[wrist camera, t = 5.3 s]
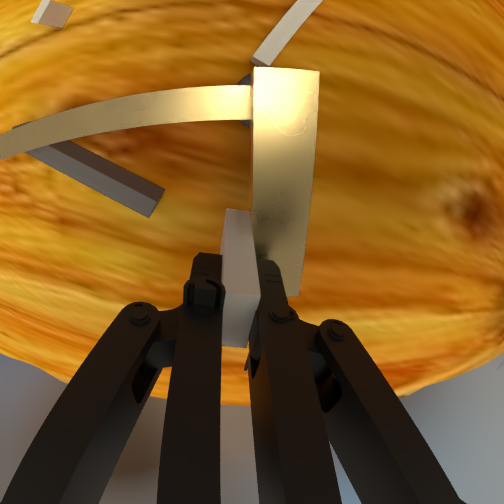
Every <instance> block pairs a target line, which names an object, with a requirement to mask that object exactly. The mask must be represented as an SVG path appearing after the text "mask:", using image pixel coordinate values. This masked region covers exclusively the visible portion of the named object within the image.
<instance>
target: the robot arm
mask: <svg viewBox="0 0 504 504" xmlns="http://www.w3.org/2000/svg"><path fill="white" fill-rule="evenodd" d="M248 341H249V354H248V357H247V360H246V364H245V368H244V370H246V371H247V369H248V375H249V388H250V400H251V413H252V425H253V437H254V449H255V461H256V472H257V482H258V493H259V504H342V502H341V496H340V492H339V487H338V482H337V477H336V472H335V468H334V463H333V458H332V453H331V449H330V445H329V441H330V443H331V445H332V447H333V449H334V451H335V453H336V455H337V457H338V459H339V461H340V463H341V464H342V467H343V468H344V470H345V472H346V474H347V476H348V478H349V480H350V482H351V484H352V486H353V488H354V489H355V492H356V493H357V495H358V497H359V499H360V501H361V503H362V504H466V503H465V502H464V501H462V500H461V499H459V497H458V495H457V493H456V492H455V490H454V488H453V487H452V485H451V483H450V481H449V479H448V478H447V476H446V475H445V472H444V471H443V469H442V468H441V466H440V464H439V463H438V461H437V459H436V457H435V456H434V454H433V452H432V451H431V449H430V447H429V446H428V444H427V443H426V441H425V439H424V438H423V436H422V435H421V433H420V431H419V430H418V428H417V427H416V425H415V424H414V422H413V420H412V419H411V417H410V416H409V414H408V413H407V411H406V409H405V408H404V406H403V405H402V403H401V402H400V400H399V399H398V397H397V395H396V394H395V392H394V391H393V389H392V388H391V386H390V385H389V383H388V382H387V380H386V379H385V377H384V376H383V374H382V373H381V371H380V370H379V368H378V367H377V365H376V364H375V363H374V361H373V360H372V358H371V357H370V355H369V354H368V352H367V351H366V349H365V348H364V347H363V345H362V344H361V342H360V341H359V339H358V338H357V336H356V335H355V334H354V332H353V331H352V329H351V328H350V327H349V326H348V325H347V324H345V323H343V322H342V321H339V320H335V319H328V320H325V321H323V322H322V323H321V325H320V326H316V325H313V324H310V323H307V322H304V321H302V320H300V319H299V317H298V315H297V313H296V311H295V310H294V309H292V308H291V307H290V306H289V305H288V301H287V297H286V292H285V288H284V284H283V280H282V277H281V271H280V268H279V266H278V265H277V264H276V263H275V262H274V260H266V259H257V258H256V255H255V248H254V240H253V236H252V228H251V217H250V211H245V210H238V209H231V208H226V214H225V221H224V227H223V234H222V240H221V247H220V255H218V254H210V253H202V252H200V253H199V254H198V255H197V256H196V257H195V258H194V259H193V264H192V269H191V275H190V280H188V281H187V282H186V283H185V285H184V292H183V304H182V305H180V306H179V307H177V308H175V309H172V310H166V311H158V310H157V308H156V307H155V306H153V305H151V304H149V303H146V302H134V303H131V304H129V305H127V306H126V307H124V308H123V309H122V310H121V312H120V313H119V314H118V315H117V317H116V318H115V319H114V321H113V322H112V323H111V325H110V326H109V327H108V329H107V330H106V331H105V333H104V334H103V335H102V337H101V338H100V339H99V341H98V342H97V344H96V345H95V346H94V348H93V349H92V351H91V352H90V353H89V355H88V356H87V358H86V359H85V360H84V362H83V363H82V365H81V366H80V368H79V369H78V370H77V372H76V373H75V375H74V376H73V378H72V379H71V381H70V382H69V384H68V385H67V387H66V388H65V390H64V391H63V393H62V394H61V396H60V397H59V399H58V400H57V402H56V404H55V405H54V407H53V408H52V410H51V411H50V413H49V415H48V416H47V418H46V419H45V421H44V423H43V425H42V426H41V428H40V430H39V431H38V433H37V435H36V436H35V438H34V440H33V441H32V443H31V445H30V447H29V448H28V450H27V452H26V454H25V456H24V457H23V459H22V461H21V463H20V465H19V467H18V469H17V471H16V473H15V475H14V477H13V478H12V480H11V483H10V485H9V487H8V489H7V491H6V493H5V495H4V497H3V500H2V502H1V503H0V504H99V501H100V499H101V497H102V494H103V492H104V490H105V488H106V486H107V483H108V481H109V479H110V477H111V475H112V472H113V470H114V468H115V466H116V464H117V461H118V460H119V457H120V455H121V453H122V451H123V449H124V447H125V445H126V442H127V440H128V438H129V436H130V434H131V432H132V430H133V428H134V426H135V424H136V422H137V419H138V417H139V415H140V413H141V411H142V409H143V407H144V405H145V403H146V401H147V399H148V397H149V395H150V393H151V391H152V389H153V387H154V385H155V383H156V381H157V379H158V377H159V375H160V373H161V371H162V369H163V368H164V367H171V366H172V370H171V377H170V383H169V390H168V397H167V404H166V413H165V420H164V428H163V437H162V446H161V456H160V466H159V478H158V492H157V504H221V498H220V497H221V496H220V398H221V354H222V346H229V347H242V348H247V344H248ZM328 439H329V440H328Z"/></svg>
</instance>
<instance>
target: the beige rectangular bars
mask: <svg viewBox="0 0 504 504" xmlns="http://www.w3.org/2000/svg"><path fill="white" fill-rule="evenodd" d="M322 1H323V0H297V1H296V3H295V4H294V5H293V6H292V7H291V8H290V9H289V11H288V12H287V13H286V14H285V15H284V17H283V18H282V19H281V20H280V21H279V23H278V24H277V25H276V26H275V27H274V29H273V30H272V31H271V32H270V34H269V35H268V36H267V38H266V39H265V40H264V41H263V43H262V44H261V45H260V47H259V48H258V49H257V51H256V52H255V53H254V55H253V56H252V59H251V62H252V63H254V64H256V65H257V66H259V67H269V66H270V65H271V63H272V62H273V61H274V59H275V58H276V57H277V55H278V54H279V53H280V51H281V50H282V49H283V47H284V46H285V45H286V44H287V42H288V41H289V40H290V39H291V37H292V36H293V35H294V34H295V32H296V31H297V30H298V29H299V27H300V26H301V25H302V24H303V23H304V21H305V20H306V19H307V18H308V17H309V15H310V14H311V13H312V12H313V11H314V10H315V8H316V7H317V6H318V5H319V4H320V3H321V2H322ZM73 9H74V8H73V7H70V6H67V5H64V4H61V3H58V2H55V1H51V0H42V2H41V3H40V5H39V7H38V9H37V11H36V12H35V14H34V16H33V18H32V20H31V23H36V24H43V25H48V26H54V27H59V28H63V26H64V24H65V22H66V21H67V19H68V17H69V15H70V14H71V12H72V10H73Z"/></svg>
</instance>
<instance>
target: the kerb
mask: <svg viewBox="0 0 504 504" xmlns="http://www.w3.org/2000/svg"><path fill="white" fill-rule="evenodd" d="M28 123H30V122H27V123H24V124H20V125H17V126H15V127H12V130H13V129H15V128H17V127H20V126H22V125H25V124H28ZM25 153H27V154H29V155H31V156H33V157H34V158H36V159H38V160H40V161H42V162H44V163H45V164H47V165H49V166H51V167H53V168H55V169H56V170H58V171H60V172H62V173H64V174H66V175H68V176H69V177H71V178H73V179H75V180H77V181H79V182H81V183H83V184H84V185H86V186H88V187H90V188H92V189H94V190H96V191H98V192H100V193H101V194H103V195H105V196H107V197H109V198H111V199H113V200H115V201H117V202H119V203H121V204H122V205H124V206H126V207H128V208H130V209H132V210H134V211H136V212H138V213H140V214H142V215H144V216H146V217H148V218H149V217H150V216H151V214H152V213H153V211H154V209H155V208H156V206H157V205H158V203H159V201H160V199H161V196H162V194H163V192H164V190H165V189H163V188H161V187H159V186H157V185H155V184H153V183H151V182H149V181H147V180H145V179H143V178H141V177H139V176H138V175H136V174H134V173H132V172H130V171H128V170H126V169H124V168H122V167H120V166H118V165H116V164H114V163H112V162H110V161H108V160H106V159H104V158H102V157H100V156H98V155H96V154H94V153H92V152H90V151H88V150H86V149H84V148H82V147H80V146H78V145H76V144H74V143H72V142H70V141H68V140H66V141H62V142H58V143H54V144H50V145H46V146H43V147H39V148H36V149H32V150H29V151H26V152H25Z"/></svg>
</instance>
